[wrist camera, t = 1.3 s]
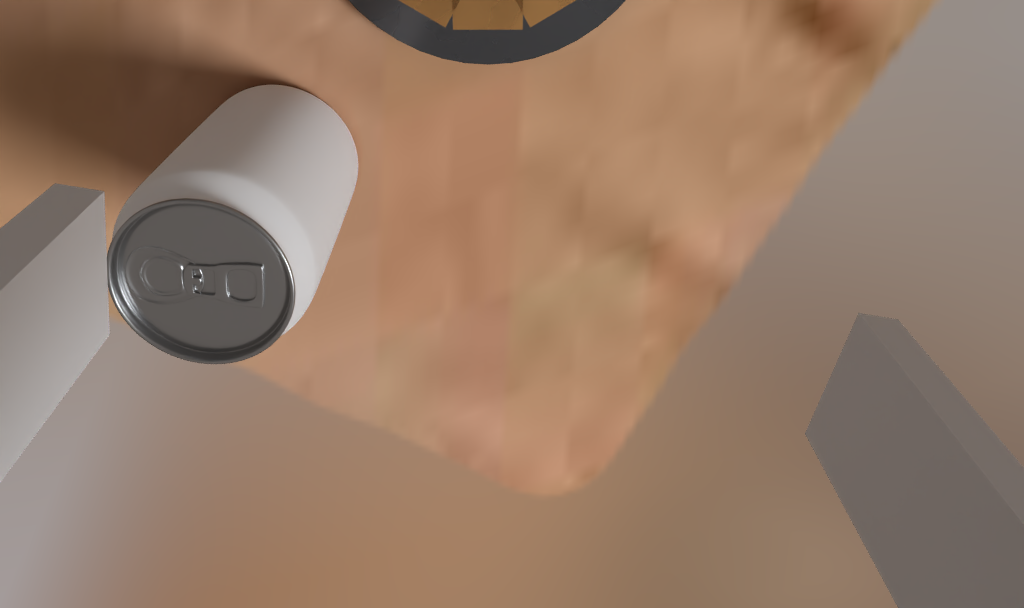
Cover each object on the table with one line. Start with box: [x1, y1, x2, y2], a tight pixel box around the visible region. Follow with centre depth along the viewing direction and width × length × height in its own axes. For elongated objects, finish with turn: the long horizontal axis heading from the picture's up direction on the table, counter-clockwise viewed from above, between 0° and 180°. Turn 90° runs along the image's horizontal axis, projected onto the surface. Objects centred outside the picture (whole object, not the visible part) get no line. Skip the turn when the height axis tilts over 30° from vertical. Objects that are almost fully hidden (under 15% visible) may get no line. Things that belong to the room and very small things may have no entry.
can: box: [107, 85, 358, 364], centre depth 31 cm, size 6×6×12 cm
